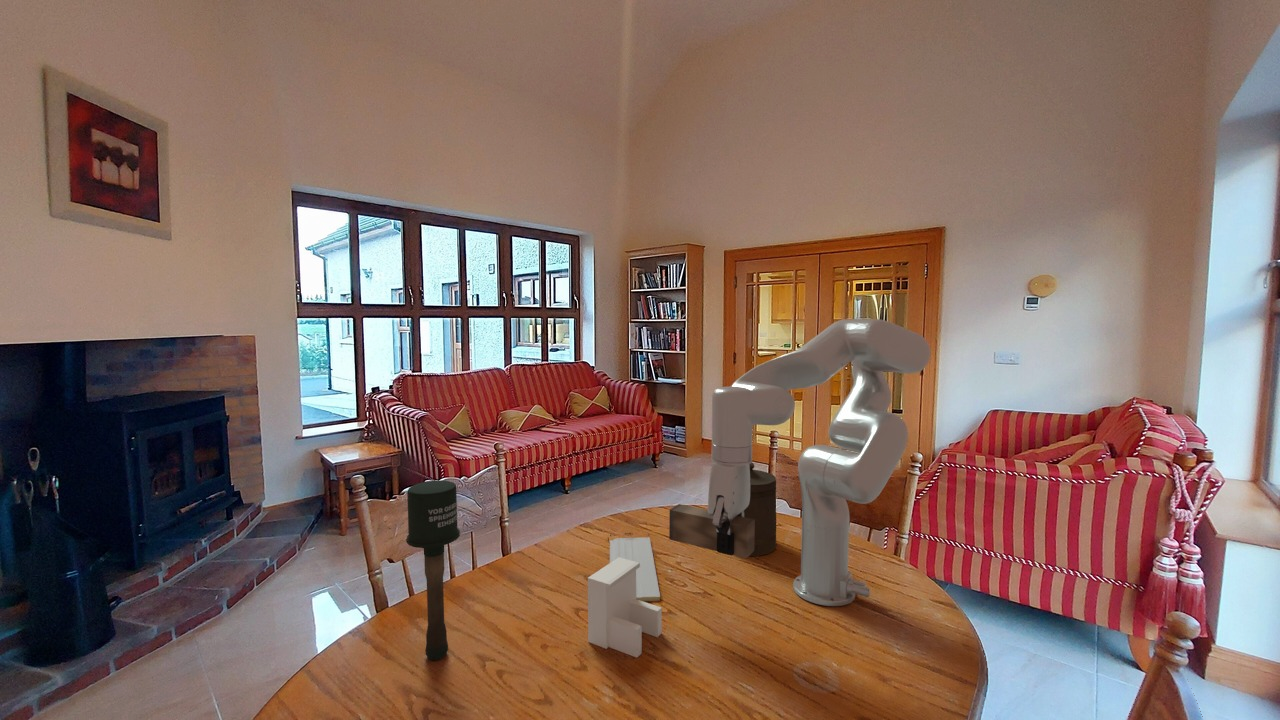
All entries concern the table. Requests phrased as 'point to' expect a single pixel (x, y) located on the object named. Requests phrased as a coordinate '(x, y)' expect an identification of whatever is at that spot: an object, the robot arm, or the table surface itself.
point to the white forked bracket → (619, 609)
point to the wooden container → (762, 510)
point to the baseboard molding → (646, 572)
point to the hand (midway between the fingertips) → (730, 547)
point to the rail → (709, 530)
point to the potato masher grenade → (433, 549)
